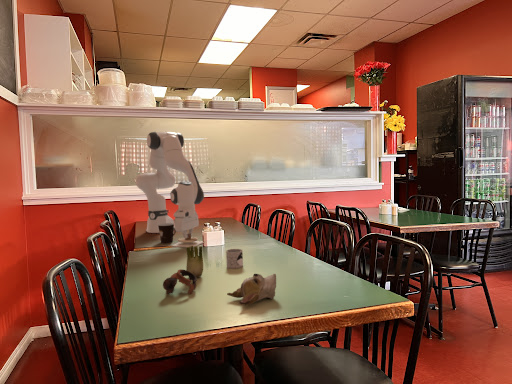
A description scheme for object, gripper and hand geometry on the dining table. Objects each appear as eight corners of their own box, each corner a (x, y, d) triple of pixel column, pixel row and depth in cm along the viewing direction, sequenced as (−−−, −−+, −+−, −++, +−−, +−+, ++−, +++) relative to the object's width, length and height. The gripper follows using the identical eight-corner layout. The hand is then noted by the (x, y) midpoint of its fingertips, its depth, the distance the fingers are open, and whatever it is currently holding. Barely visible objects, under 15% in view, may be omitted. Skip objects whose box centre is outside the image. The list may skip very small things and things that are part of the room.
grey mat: (183, 241, 206) (183, 240, 206) (204, 242, 202) (204, 241, 202) (171, 246, 194) (171, 245, 194) (193, 247, 190) (193, 246, 190)
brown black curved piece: (176, 287, 129) (187, 267, 128) (193, 303, 124) (205, 282, 123) (151, 288, 118) (163, 266, 118) (169, 306, 113) (181, 283, 113)
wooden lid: (184, 238, 204) (184, 232, 204) (201, 238, 201) (200, 232, 201) (174, 242, 194) (174, 235, 194) (192, 242, 191) (191, 236, 191)
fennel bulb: (204, 276, 139) (203, 244, 138) (198, 279, 134) (197, 247, 133) (191, 274, 141) (190, 244, 140) (184, 278, 136) (183, 246, 135)
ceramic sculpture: (283, 272, 110) (238, 284, 103) (286, 300, 110) (240, 313, 104) (267, 265, 119) (224, 275, 113) (269, 291, 120) (227, 302, 113)
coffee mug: (157, 241, 208) (156, 224, 208) (172, 239, 212) (172, 222, 211) (161, 245, 198) (160, 226, 197) (177, 243, 201) (176, 225, 201)
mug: (240, 268, 147) (240, 252, 147) (224, 268, 148) (224, 252, 148) (246, 262, 157) (245, 247, 156) (231, 262, 158) (230, 246, 158)
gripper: (191, 209, 207) (192, 233, 208) (171, 214, 188) (173, 240, 189) (201, 209, 205) (202, 234, 206) (182, 214, 186) (183, 241, 187)
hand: (188, 237), depth 198 cm, fingers closed on wooden lid, 3 cm apart
